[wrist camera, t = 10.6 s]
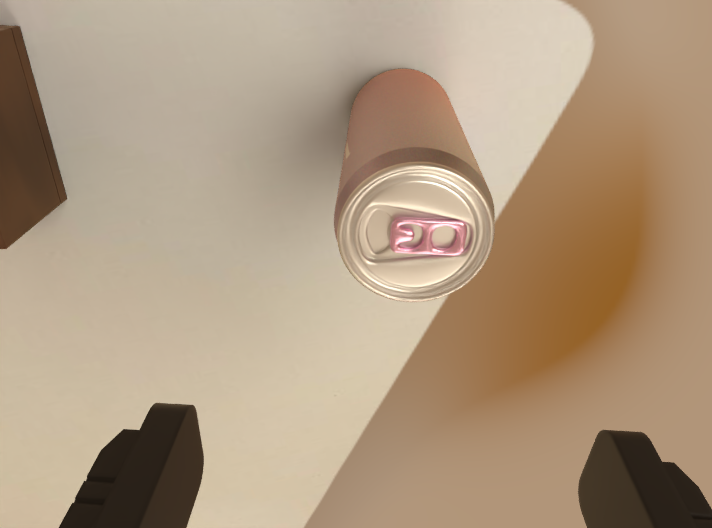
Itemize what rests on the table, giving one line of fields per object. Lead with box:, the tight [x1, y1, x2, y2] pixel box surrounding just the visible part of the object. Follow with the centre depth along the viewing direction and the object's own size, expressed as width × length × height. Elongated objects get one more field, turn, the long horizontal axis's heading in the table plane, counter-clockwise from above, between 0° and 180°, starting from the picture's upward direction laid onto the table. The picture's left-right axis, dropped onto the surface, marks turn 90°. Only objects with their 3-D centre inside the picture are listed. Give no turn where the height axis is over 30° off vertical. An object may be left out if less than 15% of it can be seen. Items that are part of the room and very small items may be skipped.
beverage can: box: [334, 69, 495, 302], centre depth 25 cm, size 6×6×15 cm
